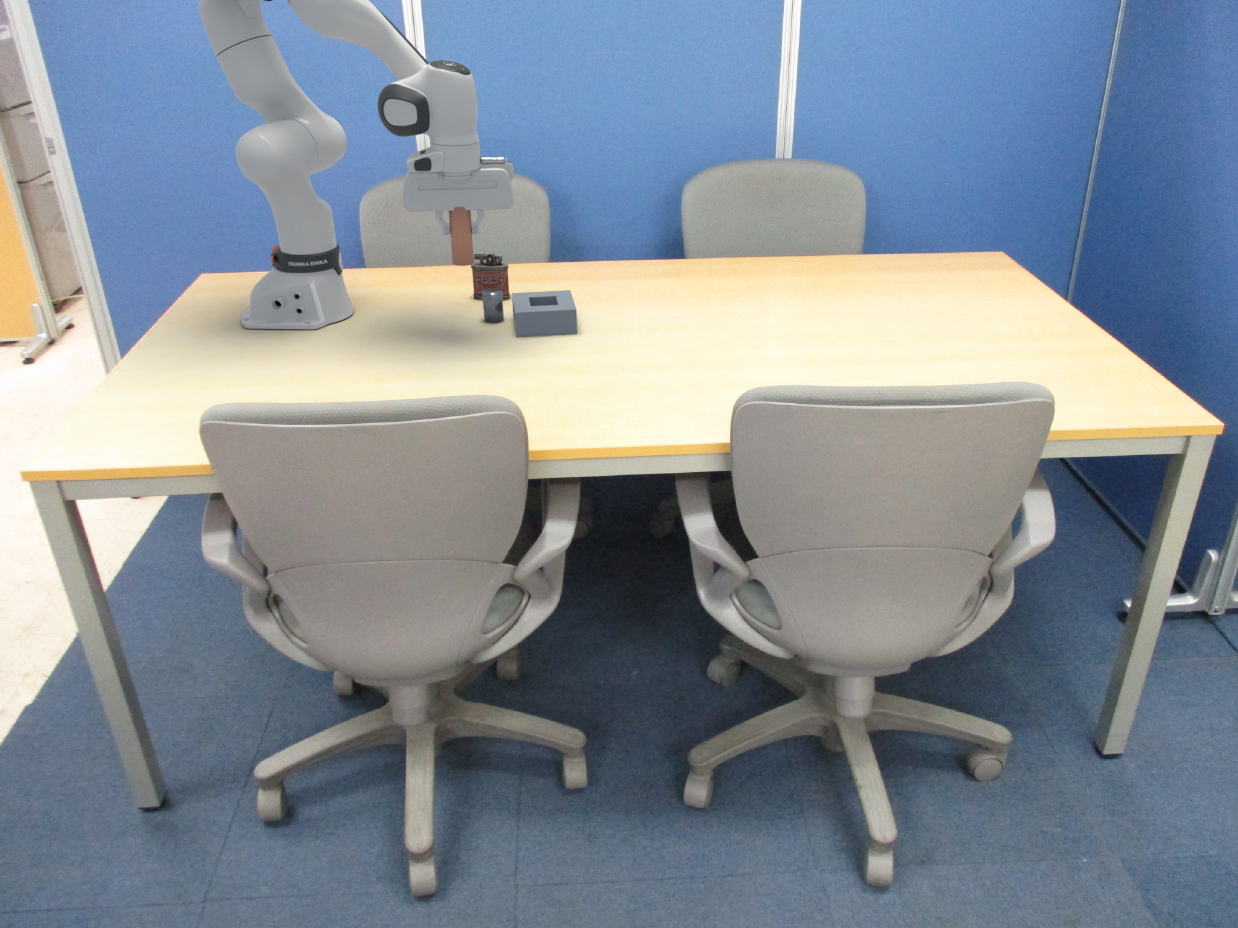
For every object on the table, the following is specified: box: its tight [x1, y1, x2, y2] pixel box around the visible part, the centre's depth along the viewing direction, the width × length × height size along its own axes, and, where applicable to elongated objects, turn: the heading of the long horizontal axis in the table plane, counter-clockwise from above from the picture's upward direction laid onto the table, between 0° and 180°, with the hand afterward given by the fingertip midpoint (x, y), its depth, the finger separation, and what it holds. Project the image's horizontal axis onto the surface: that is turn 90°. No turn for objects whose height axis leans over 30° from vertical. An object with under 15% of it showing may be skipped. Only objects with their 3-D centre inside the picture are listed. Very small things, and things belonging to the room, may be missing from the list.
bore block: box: [511, 289, 578, 338], centre depth 199 cm, size 12×12×5 cm
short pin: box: [482, 289, 505, 324], centre depth 201 cm, size 4×4×6 cm
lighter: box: [470, 251, 511, 301], centre depth 213 cm, size 8×3×10 cm, turn 84°
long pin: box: [448, 207, 475, 267], centre depth 186 cm, size 4×4×11 cm
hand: (461, 233), depth 186 cm, fingers closed on long pin, 4 cm apart
